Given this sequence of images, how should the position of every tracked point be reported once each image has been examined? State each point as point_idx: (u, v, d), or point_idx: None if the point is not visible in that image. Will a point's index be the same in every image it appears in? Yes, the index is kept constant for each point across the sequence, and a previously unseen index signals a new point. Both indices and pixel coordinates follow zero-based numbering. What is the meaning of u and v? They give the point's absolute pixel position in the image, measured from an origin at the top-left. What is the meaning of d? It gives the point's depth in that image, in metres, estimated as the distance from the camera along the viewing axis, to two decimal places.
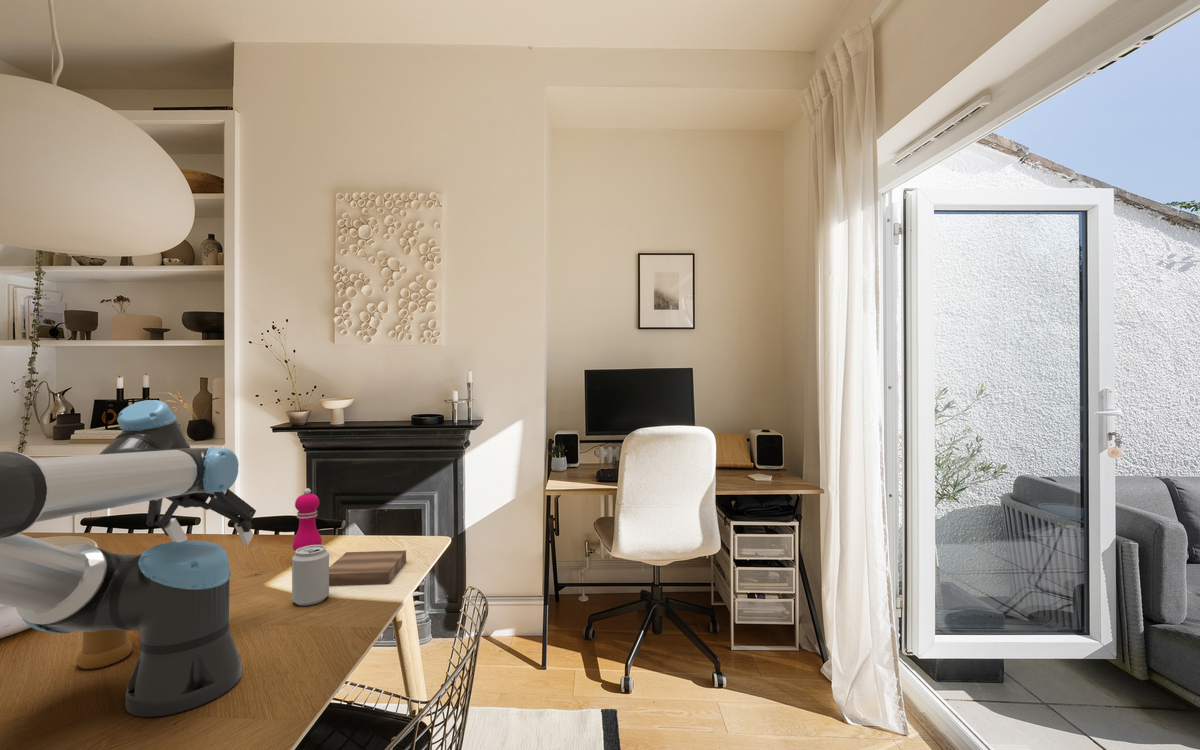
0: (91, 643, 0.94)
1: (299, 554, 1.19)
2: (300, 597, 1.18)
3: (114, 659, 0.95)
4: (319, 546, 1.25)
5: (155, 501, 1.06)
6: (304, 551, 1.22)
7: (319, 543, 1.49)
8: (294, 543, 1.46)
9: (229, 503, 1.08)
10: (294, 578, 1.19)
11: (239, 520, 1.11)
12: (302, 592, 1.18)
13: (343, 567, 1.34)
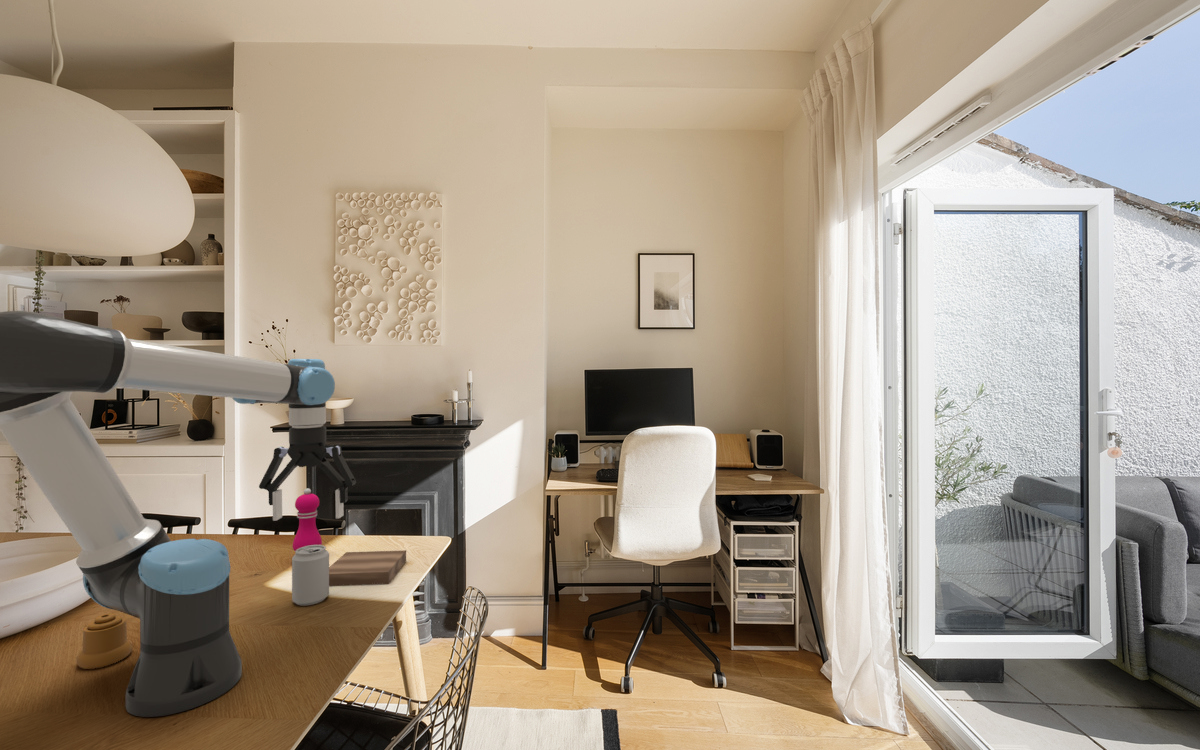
0: (92, 643, 0.94)
1: (299, 554, 1.19)
2: (300, 597, 1.18)
3: (114, 659, 0.95)
4: (319, 546, 1.25)
5: (278, 457, 1.20)
6: (304, 551, 1.22)
7: (319, 543, 1.49)
8: (294, 543, 1.46)
9: (340, 462, 1.21)
10: (294, 578, 1.19)
11: (341, 485, 1.22)
12: (302, 592, 1.18)
13: (343, 567, 1.34)
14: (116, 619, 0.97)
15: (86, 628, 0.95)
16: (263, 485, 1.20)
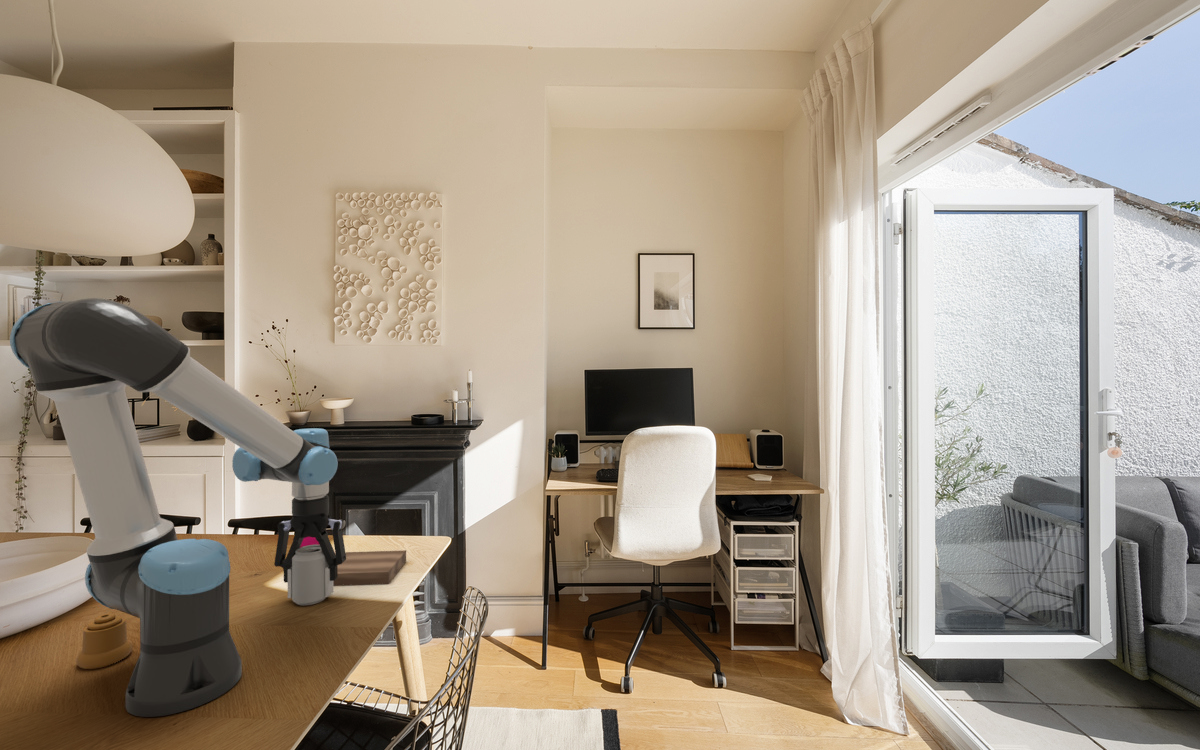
0: (91, 643, 0.94)
1: (299, 554, 1.19)
2: (300, 597, 1.18)
3: (114, 659, 0.95)
4: (319, 546, 1.25)
5: (283, 531, 1.20)
6: (304, 551, 1.22)
7: None
8: None
9: (337, 538, 1.22)
10: (294, 578, 1.19)
11: (332, 563, 1.21)
12: (302, 592, 1.18)
13: (343, 567, 1.34)
14: (116, 619, 0.97)
15: (86, 628, 0.95)
16: (278, 562, 1.20)
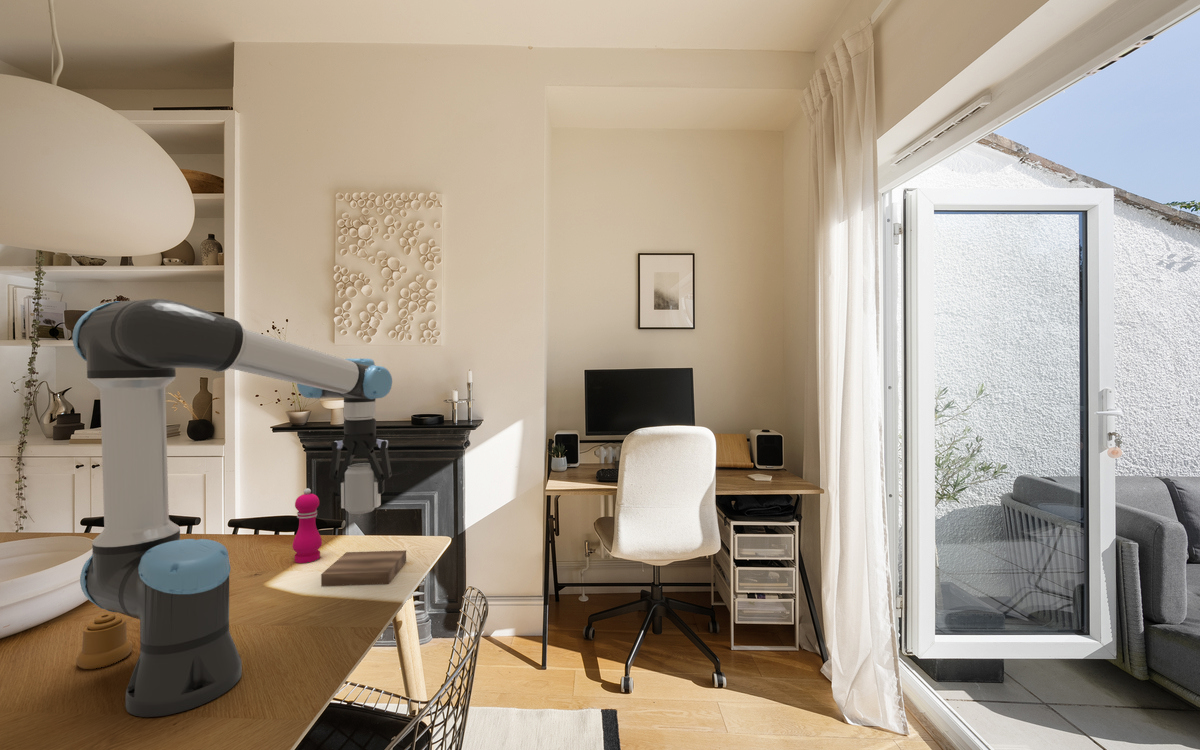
0: (91, 643, 0.94)
1: (351, 468, 1.34)
2: (352, 506, 1.33)
3: (114, 659, 0.95)
4: (367, 464, 1.39)
5: (337, 449, 1.35)
6: None
7: (319, 543, 1.49)
8: (294, 543, 1.46)
9: (385, 456, 1.36)
10: (347, 489, 1.34)
11: (380, 477, 1.36)
12: (354, 502, 1.33)
13: (343, 567, 1.34)
14: (116, 619, 0.97)
15: (86, 628, 0.95)
16: (332, 476, 1.35)
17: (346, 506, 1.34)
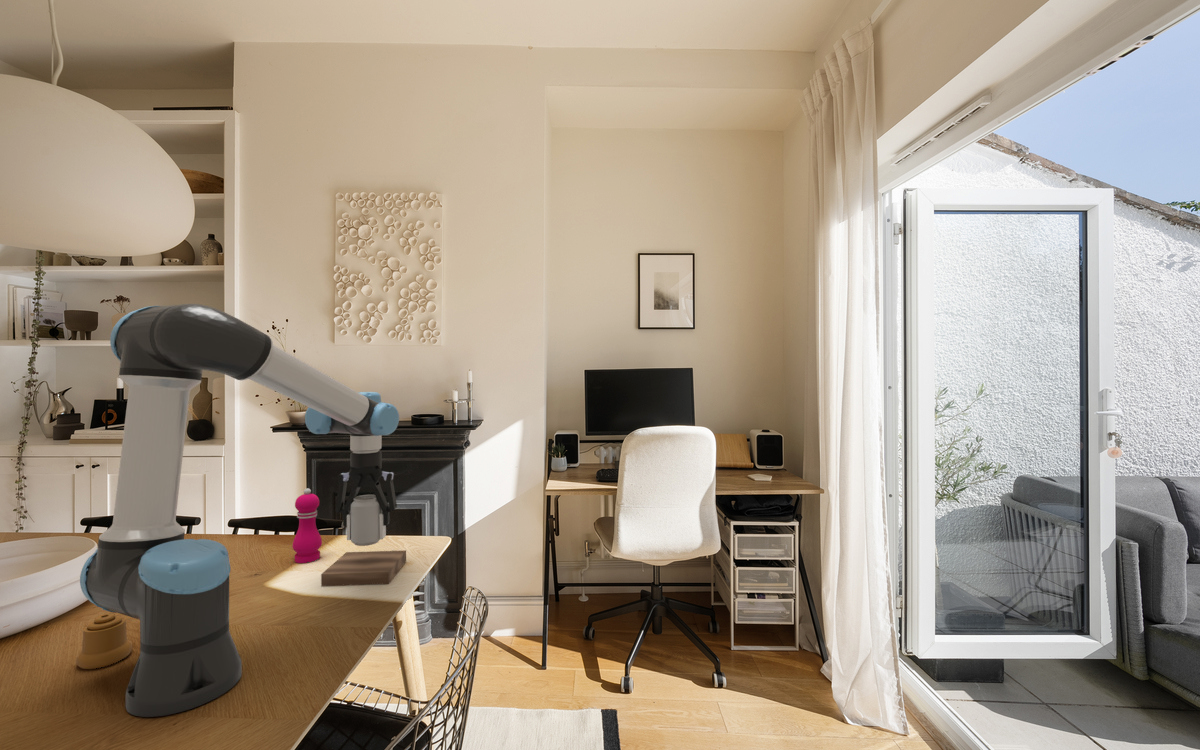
0: (91, 643, 0.94)
1: (357, 501, 1.36)
2: (358, 538, 1.35)
3: (114, 659, 0.95)
4: (373, 495, 1.41)
5: (343, 481, 1.37)
6: (361, 499, 1.38)
7: (319, 543, 1.49)
8: (294, 543, 1.46)
9: (390, 488, 1.38)
10: (353, 521, 1.36)
11: (385, 509, 1.38)
12: (360, 534, 1.35)
13: (343, 567, 1.34)
14: (116, 619, 0.97)
15: (86, 628, 0.95)
16: (338, 509, 1.37)
17: (352, 538, 1.36)
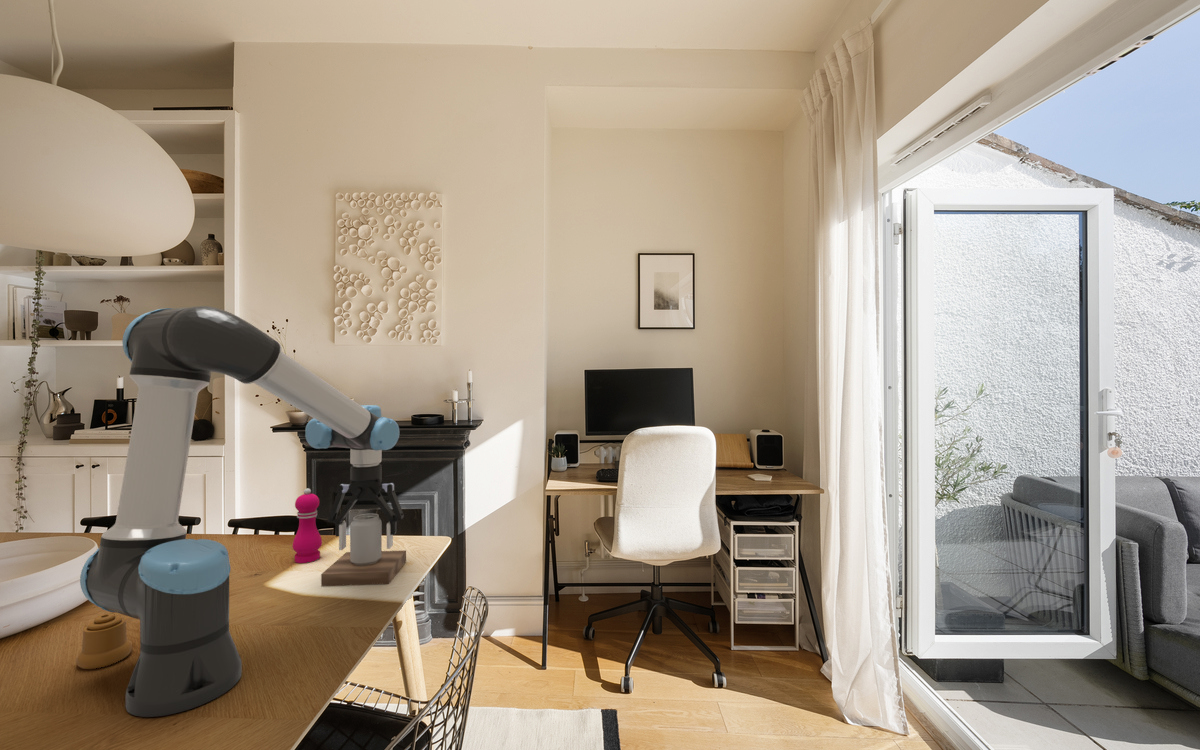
0: (91, 643, 0.94)
1: (357, 520, 1.36)
2: (358, 558, 1.35)
3: (114, 659, 0.95)
4: (372, 514, 1.41)
5: (341, 493, 1.37)
6: (360, 518, 1.38)
7: (319, 543, 1.49)
8: (294, 543, 1.46)
9: (393, 498, 1.38)
10: (352, 541, 1.36)
11: (392, 519, 1.38)
12: (360, 553, 1.35)
13: (343, 567, 1.34)
14: (116, 619, 0.97)
15: (86, 628, 0.95)
16: (331, 519, 1.37)
17: (351, 557, 1.36)
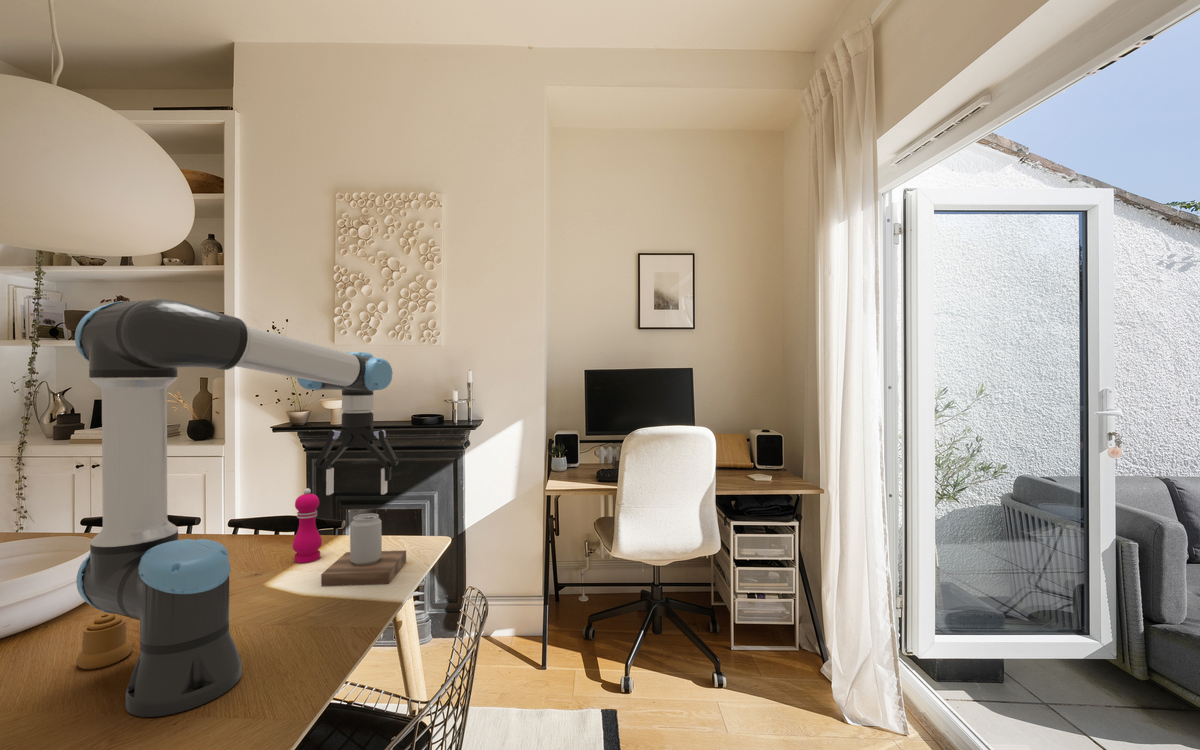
0: (91, 643, 0.94)
1: (357, 520, 1.36)
2: (358, 558, 1.35)
3: (114, 659, 0.95)
4: (372, 514, 1.41)
5: (332, 439, 1.36)
6: (360, 518, 1.38)
7: (319, 543, 1.49)
8: (294, 543, 1.46)
9: (385, 444, 1.37)
10: (352, 541, 1.36)
11: (386, 464, 1.37)
12: (360, 554, 1.35)
13: (343, 567, 1.34)
14: (116, 619, 0.97)
15: (86, 628, 0.95)
16: (318, 463, 1.35)
17: (351, 557, 1.36)
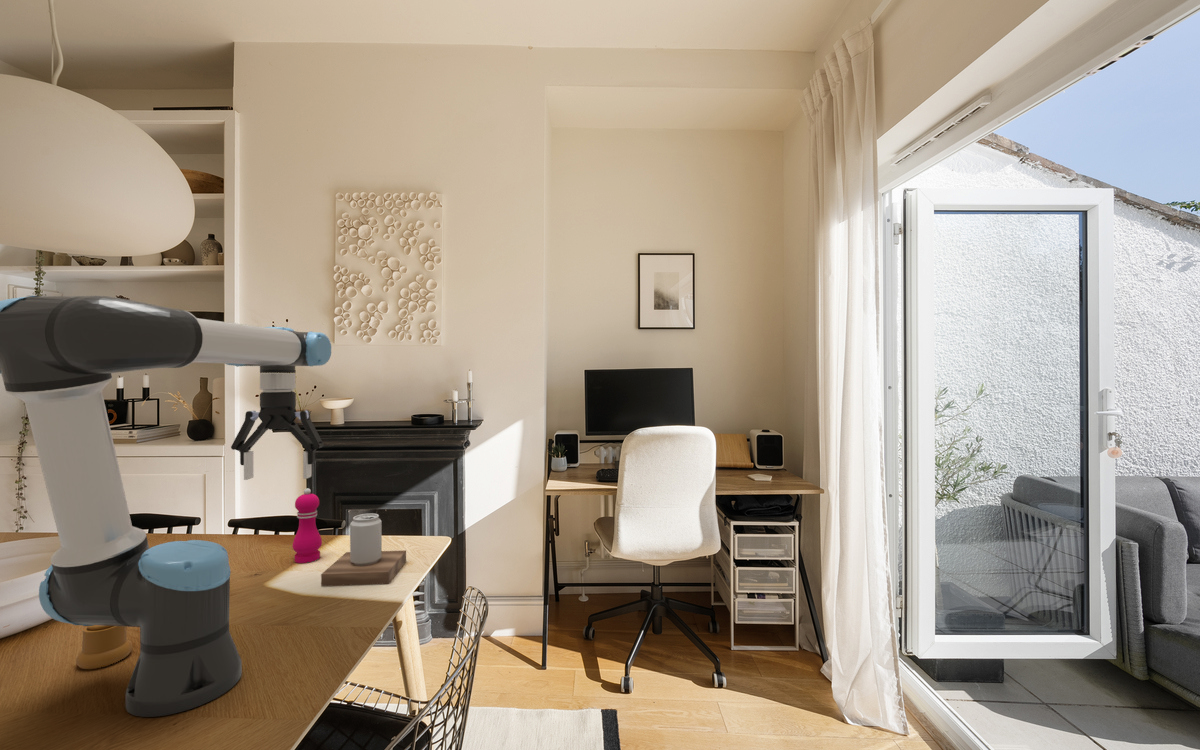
0: (91, 643, 0.94)
1: (357, 520, 1.36)
2: (358, 558, 1.35)
3: (114, 659, 0.95)
4: (372, 514, 1.41)
5: (249, 420, 1.27)
6: (360, 518, 1.38)
7: (319, 543, 1.49)
8: (294, 543, 1.46)
9: (308, 425, 1.28)
10: (352, 541, 1.36)
11: (309, 447, 1.29)
12: (360, 554, 1.35)
13: (343, 567, 1.34)
14: None
15: (86, 628, 0.95)
16: (235, 446, 1.27)
17: (351, 557, 1.36)
